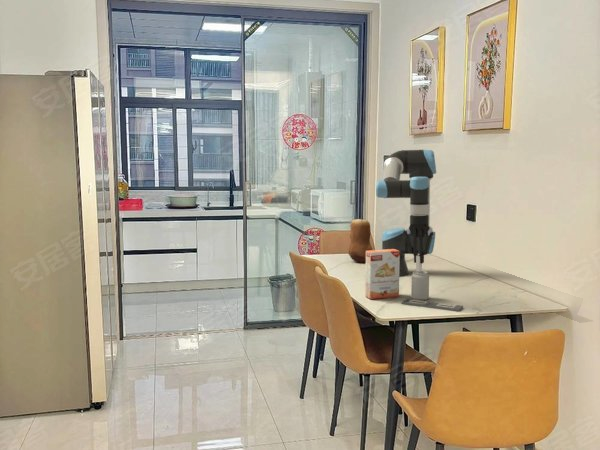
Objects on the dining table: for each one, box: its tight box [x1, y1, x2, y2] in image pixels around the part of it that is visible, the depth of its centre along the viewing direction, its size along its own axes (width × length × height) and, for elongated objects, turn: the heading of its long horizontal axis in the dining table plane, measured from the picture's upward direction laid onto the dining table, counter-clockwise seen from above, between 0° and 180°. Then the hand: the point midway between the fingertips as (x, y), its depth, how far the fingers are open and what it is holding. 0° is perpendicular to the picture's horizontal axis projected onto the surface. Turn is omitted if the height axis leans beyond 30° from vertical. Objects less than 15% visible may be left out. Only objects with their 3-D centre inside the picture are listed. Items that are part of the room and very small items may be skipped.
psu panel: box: [401, 298, 464, 313], centre depth 230 cm, size 6×24×1 cm, turn 58°
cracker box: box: [365, 249, 400, 300], centre depth 244 cm, size 14×6×21 cm, turn 106°
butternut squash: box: [348, 218, 374, 264], centre depth 320 cm, size 14×13×25 cm
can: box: [410, 270, 430, 301], centre depth 240 cm, size 8×8×12 cm
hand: (418, 270), depth 231 cm, fingers closed
